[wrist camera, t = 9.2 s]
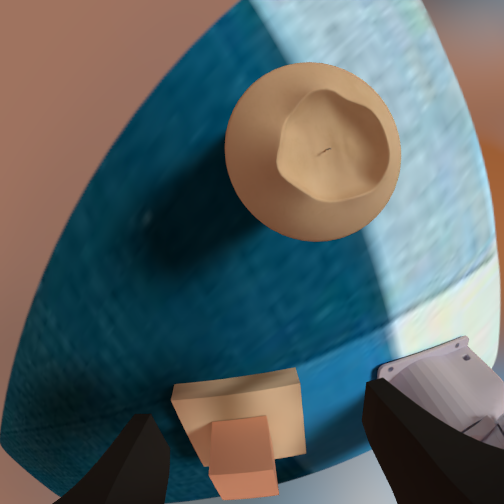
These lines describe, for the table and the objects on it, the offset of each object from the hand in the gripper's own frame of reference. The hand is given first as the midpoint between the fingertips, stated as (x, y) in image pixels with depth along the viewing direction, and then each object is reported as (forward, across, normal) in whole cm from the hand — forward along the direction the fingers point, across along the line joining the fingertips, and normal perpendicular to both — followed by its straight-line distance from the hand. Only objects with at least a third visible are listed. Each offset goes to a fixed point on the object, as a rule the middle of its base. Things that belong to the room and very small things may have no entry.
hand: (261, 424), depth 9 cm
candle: (+11, -3, -8) cm, 14 cm away
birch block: (+11, +2, +11) cm, 16 cm away
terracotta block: (+8, +2, +11) cm, 14 cm away
